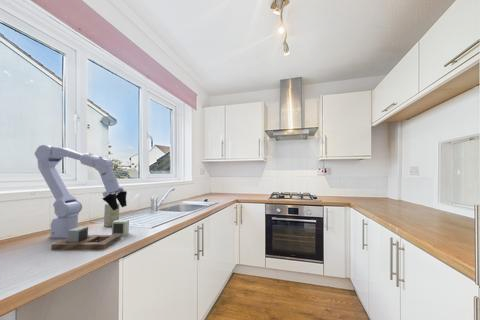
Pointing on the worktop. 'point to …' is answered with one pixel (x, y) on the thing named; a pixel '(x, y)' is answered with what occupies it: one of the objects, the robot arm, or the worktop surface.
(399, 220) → the worktop surface
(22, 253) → the worktop surface
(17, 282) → the worktop surface
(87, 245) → the brown wooden frame
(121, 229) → the block
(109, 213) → the skincare box
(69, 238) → the grey block
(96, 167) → the robot arm
